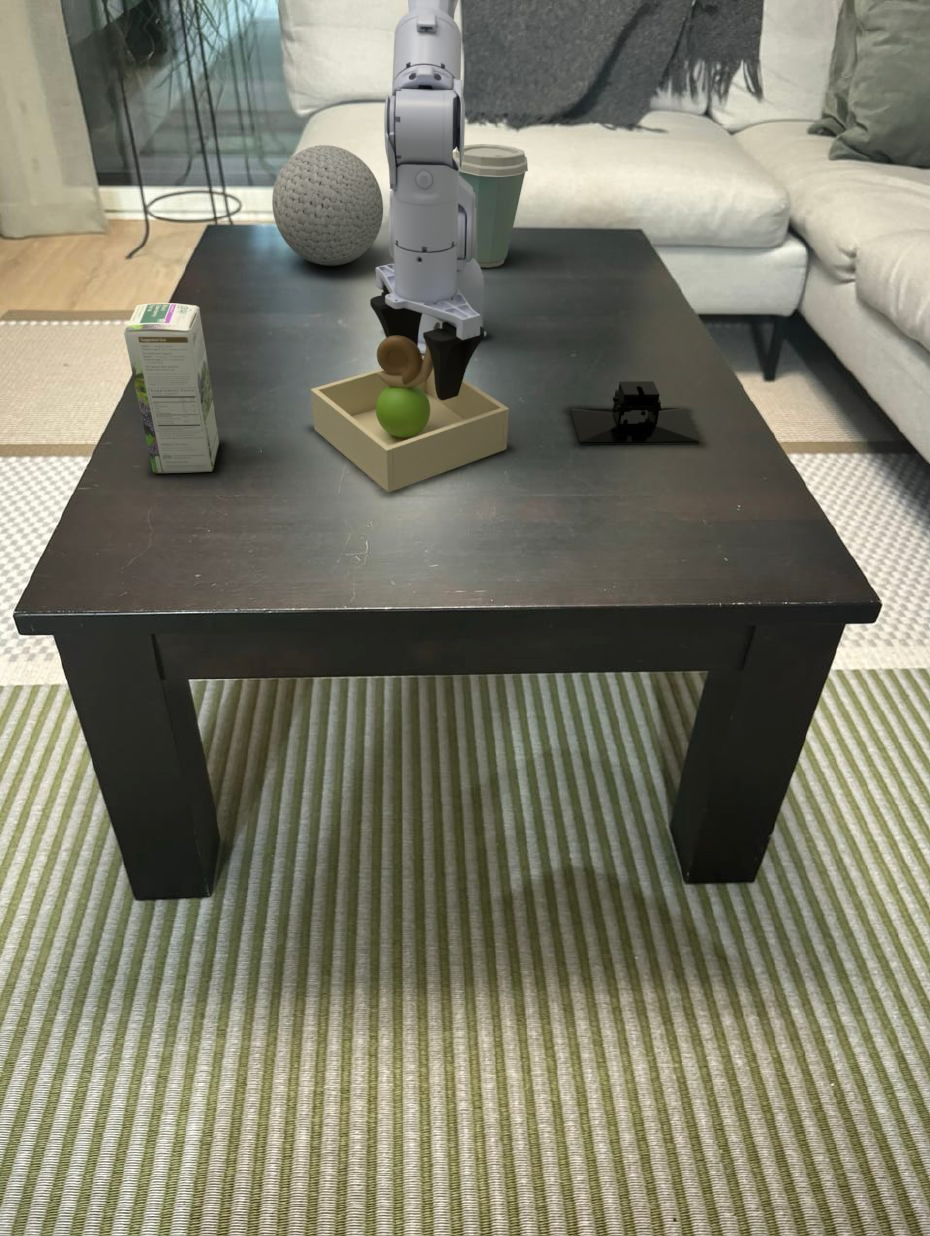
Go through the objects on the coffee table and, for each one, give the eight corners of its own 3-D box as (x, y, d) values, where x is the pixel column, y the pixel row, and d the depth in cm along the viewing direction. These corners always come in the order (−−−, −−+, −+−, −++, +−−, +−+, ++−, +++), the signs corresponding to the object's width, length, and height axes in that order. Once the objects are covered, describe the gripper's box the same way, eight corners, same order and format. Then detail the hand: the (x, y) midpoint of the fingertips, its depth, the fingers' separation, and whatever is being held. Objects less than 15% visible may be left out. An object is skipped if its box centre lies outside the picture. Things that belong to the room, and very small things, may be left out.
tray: (427, 393, 101) (427, 354, 98) (506, 449, 93) (509, 408, 89) (314, 429, 94) (310, 388, 91) (388, 493, 86) (386, 450, 83)
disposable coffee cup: (440, 249, 135) (441, 137, 125) (510, 245, 137) (517, 135, 127) (457, 276, 127) (460, 159, 117) (531, 271, 129) (540, 156, 119)
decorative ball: (406, 260, 131) (404, 146, 121) (333, 291, 122) (324, 170, 112) (331, 236, 138) (323, 126, 128) (256, 263, 129) (241, 147, 119)
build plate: (579, 446, 94) (584, 405, 91) (569, 411, 99) (573, 371, 96) (698, 444, 94) (707, 403, 91) (682, 409, 100) (689, 370, 97)
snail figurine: (433, 451, 91) (433, 336, 83) (370, 444, 91) (365, 329, 84) (444, 425, 95) (446, 312, 87) (384, 418, 95) (380, 305, 88)
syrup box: (162, 443, 92) (131, 302, 82) (222, 442, 92) (198, 301, 83) (153, 474, 87) (119, 329, 78) (215, 473, 88) (189, 328, 78)
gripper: (345, 225, 84) (353, 363, 93) (434, 276, 76) (434, 423, 84) (409, 212, 87) (411, 347, 96) (502, 259, 79) (494, 402, 88)
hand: (426, 381), depth 91 cm, fingers open, 7 cm apart
